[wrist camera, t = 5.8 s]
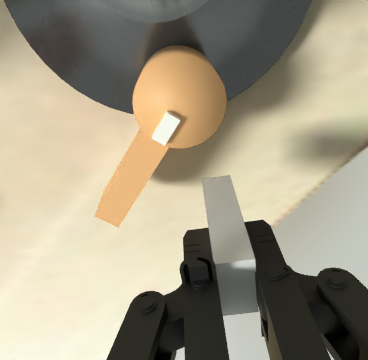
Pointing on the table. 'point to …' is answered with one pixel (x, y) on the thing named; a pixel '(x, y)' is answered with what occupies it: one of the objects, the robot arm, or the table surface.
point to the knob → (165, 121)
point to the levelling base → (154, 39)
